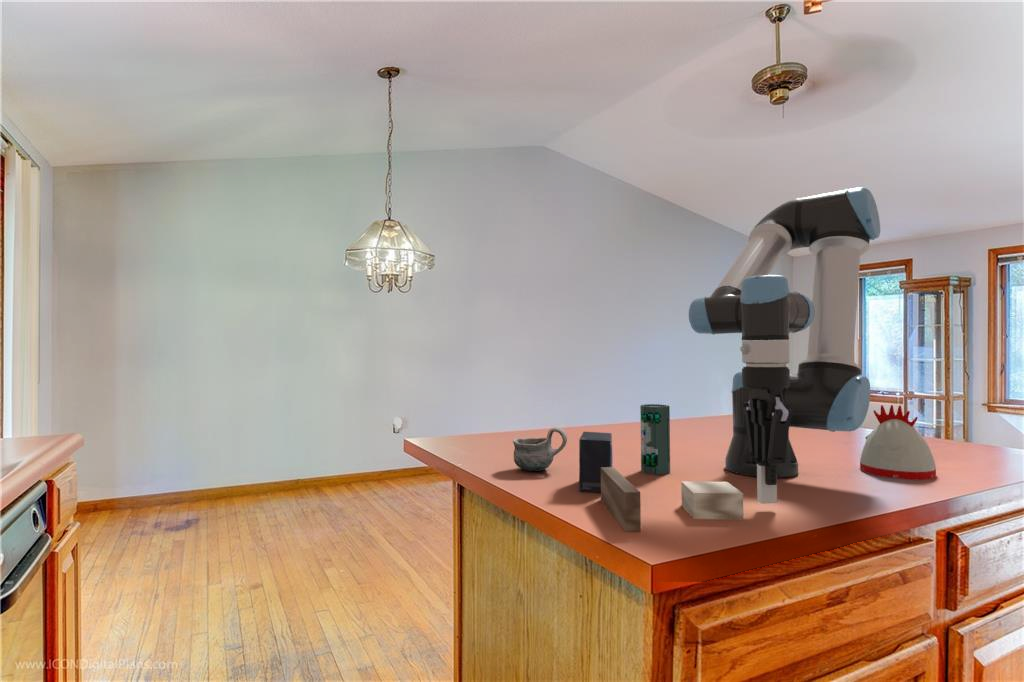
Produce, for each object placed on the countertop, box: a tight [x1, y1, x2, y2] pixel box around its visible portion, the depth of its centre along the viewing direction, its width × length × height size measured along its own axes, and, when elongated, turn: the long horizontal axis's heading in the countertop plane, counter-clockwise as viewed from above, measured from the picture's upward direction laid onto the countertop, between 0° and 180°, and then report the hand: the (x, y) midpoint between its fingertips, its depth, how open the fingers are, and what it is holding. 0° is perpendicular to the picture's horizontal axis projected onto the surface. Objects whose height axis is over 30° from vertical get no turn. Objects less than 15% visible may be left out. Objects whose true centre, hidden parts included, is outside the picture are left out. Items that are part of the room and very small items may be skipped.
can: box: [639, 403, 671, 476], centre depth 127 cm, size 6×6×15 cm
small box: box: [578, 431, 613, 493], centre depth 114 cm, size 11×6×10 cm, turn 168°
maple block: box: [680, 480, 744, 520], centre depth 96 cm, size 8×8×4 cm
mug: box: [512, 427, 568, 472], centre depth 129 cm, size 10×12×10 cm
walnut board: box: [600, 466, 642, 532], centre depth 95 cm, size 2×18×6 cm, turn 3°
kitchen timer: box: [859, 404, 937, 480], centre depth 124 cm, size 14×14×15 cm
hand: (767, 502), depth 96 cm, fingers closed
